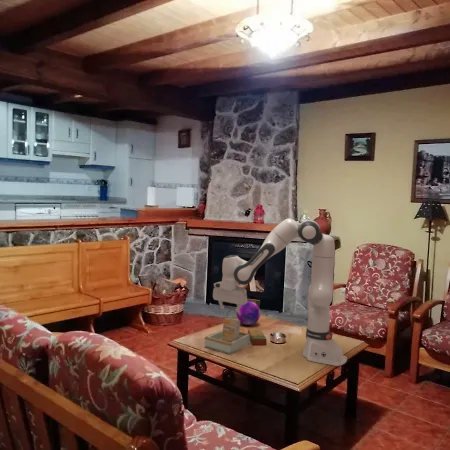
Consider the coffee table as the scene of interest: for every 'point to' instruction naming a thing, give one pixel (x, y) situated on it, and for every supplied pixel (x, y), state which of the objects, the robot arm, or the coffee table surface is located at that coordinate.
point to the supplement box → (230, 330)
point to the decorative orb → (248, 313)
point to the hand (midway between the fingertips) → (229, 310)
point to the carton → (257, 338)
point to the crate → (223, 346)
